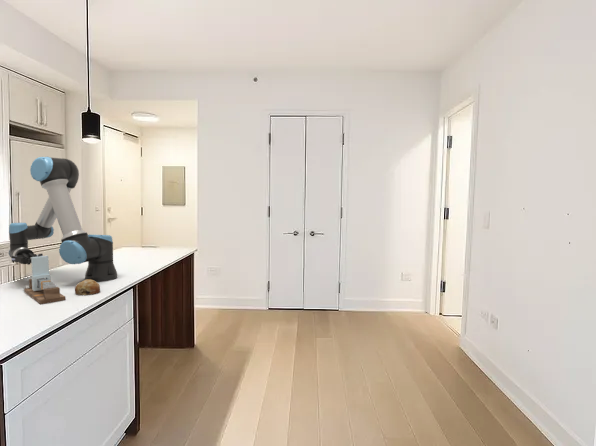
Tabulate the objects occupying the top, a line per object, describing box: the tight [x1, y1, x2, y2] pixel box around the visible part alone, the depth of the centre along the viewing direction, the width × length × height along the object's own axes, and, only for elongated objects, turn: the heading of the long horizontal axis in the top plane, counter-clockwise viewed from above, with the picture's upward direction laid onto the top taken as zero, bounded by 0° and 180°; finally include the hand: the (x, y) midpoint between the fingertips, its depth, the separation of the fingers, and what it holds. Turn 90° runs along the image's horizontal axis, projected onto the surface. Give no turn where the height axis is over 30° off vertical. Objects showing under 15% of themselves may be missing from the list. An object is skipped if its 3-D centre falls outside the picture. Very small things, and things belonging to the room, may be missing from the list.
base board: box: [23, 278, 66, 305], centre depth 172 cm, size 28×9×6 cm, turn 46°
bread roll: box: [74, 279, 101, 296], centre depth 177 cm, size 10×10×8 cm
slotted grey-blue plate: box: [30, 255, 52, 291], centre depth 173 cm, size 3×6×14 cm, turn 136°
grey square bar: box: [37, 278, 57, 290], centre depth 171 cm, size 25×3×3 cm, turn 46°
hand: (35, 261), depth 179 cm, fingers closed
